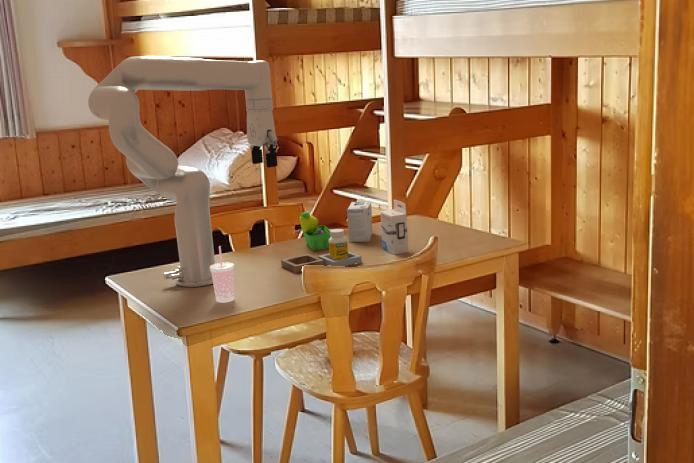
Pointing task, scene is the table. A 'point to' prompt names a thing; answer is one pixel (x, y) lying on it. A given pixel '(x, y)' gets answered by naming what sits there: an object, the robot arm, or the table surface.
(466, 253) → the table surface
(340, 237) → the supplement bottle
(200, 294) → the table surface
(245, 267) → the table surface
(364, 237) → the light bulb box
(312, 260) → the walnut collar
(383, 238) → the ink box
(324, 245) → the fruit basket
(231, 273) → the beverage cup
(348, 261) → the grey collar
